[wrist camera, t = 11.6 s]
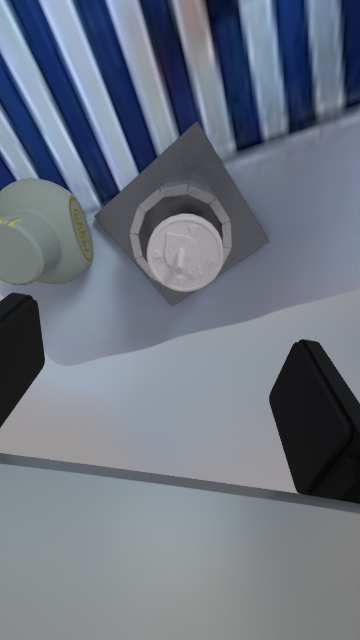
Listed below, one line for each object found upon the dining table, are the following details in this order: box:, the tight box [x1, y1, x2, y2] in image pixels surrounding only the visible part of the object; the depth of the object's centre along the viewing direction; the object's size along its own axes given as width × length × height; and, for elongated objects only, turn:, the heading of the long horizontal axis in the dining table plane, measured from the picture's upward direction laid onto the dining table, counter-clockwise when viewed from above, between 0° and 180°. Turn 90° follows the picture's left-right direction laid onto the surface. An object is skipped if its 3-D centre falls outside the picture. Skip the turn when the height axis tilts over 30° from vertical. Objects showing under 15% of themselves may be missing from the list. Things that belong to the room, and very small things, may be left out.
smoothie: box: [147, 213, 224, 292], centre depth 25 cm, size 6×6×14 cm
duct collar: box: [94, 121, 269, 306], centre depth 29 cm, size 14×14×6 cm
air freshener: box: [0, 179, 93, 285], centre depth 28 cm, size 11×8×10 cm
